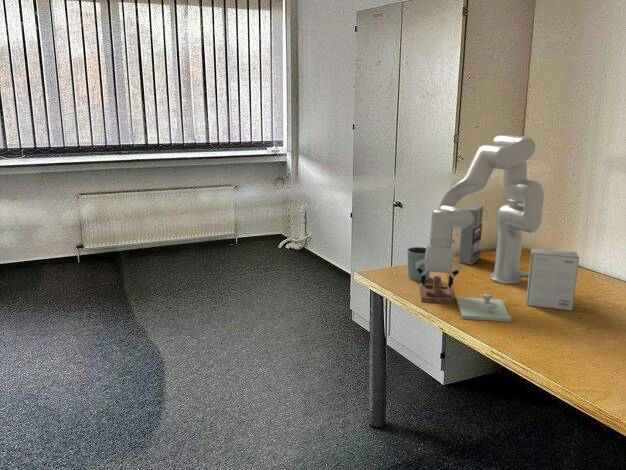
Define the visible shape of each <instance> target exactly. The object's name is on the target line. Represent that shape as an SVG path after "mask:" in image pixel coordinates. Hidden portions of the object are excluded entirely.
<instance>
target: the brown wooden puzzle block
mask: <svg viewBox="0 0 626 470" xmlns="http://www.w3.org/2000/svg"><path fill="white" fill-rule="evenodd" d="M418 287H419V288H418V289H419V294H420V295H419V296H420V301H421V302H423V303H437V304H454V305H455V303H456V299H455V296H454V292H453V289H452V287H451V288H449V286H448V284H442V277H441V275H434V276H433V283H425V286H423V283H419V286H418Z"/></svg>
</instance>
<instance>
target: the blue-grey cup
mask: <svg viewBox="0 0 626 470" xmlns="http://www.w3.org/2000/svg"><path fill="white" fill-rule="evenodd" d="M426 248H427V247H424V246H423V247H422V246H421V247H420V246H415V247H414V246H413V247H409V248H407V251H406V252H407V253H406V254H407V273H408V274H407V276H408V279H410V280H411V281H417V282H421V274H420V273H419V272H418V271H417V268H416V266H415V263H416V262H418V261H421V260H423V259H425V253H426ZM419 267H420V268H421V269H422V270H423V269H424V268H425V267H424V264H422V265H419ZM430 275H431V274H430V272H429V271H428V272H427V273H426V274H425V276H426V278H425V282H426V281H429V279H430Z"/></svg>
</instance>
